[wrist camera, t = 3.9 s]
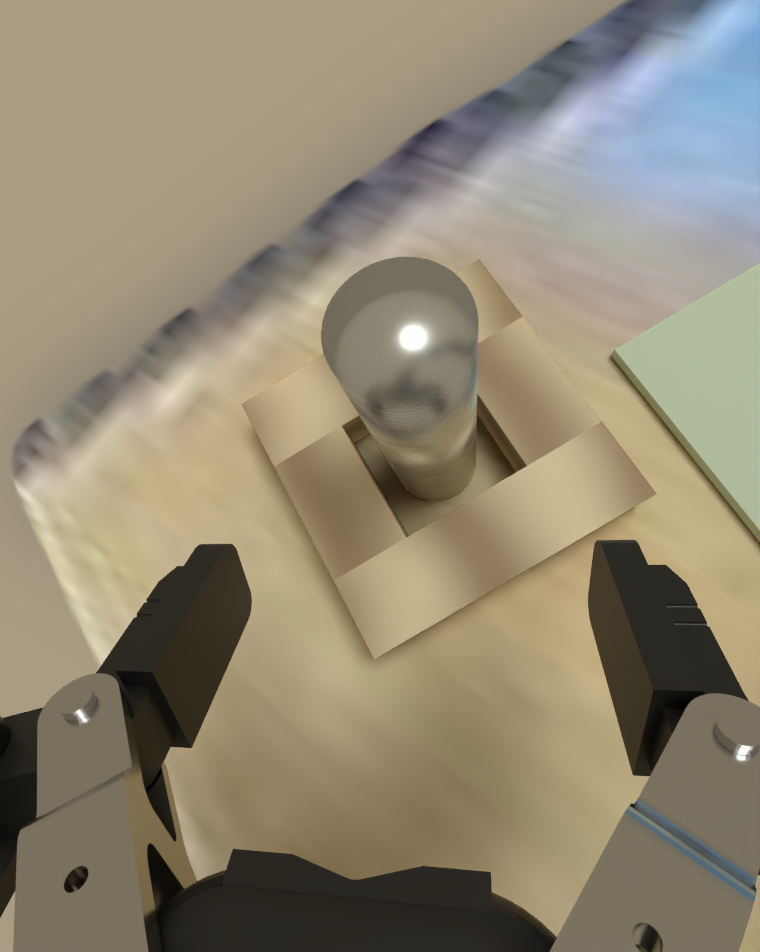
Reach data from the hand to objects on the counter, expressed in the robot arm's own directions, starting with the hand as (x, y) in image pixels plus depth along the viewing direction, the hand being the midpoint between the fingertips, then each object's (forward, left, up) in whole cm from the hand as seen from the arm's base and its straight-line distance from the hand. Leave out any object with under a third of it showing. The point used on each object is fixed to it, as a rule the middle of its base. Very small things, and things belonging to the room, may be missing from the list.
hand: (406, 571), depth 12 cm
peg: (-3, -5, -11) cm, 12 cm away
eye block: (-3, -5, -11) cm, 12 cm away
